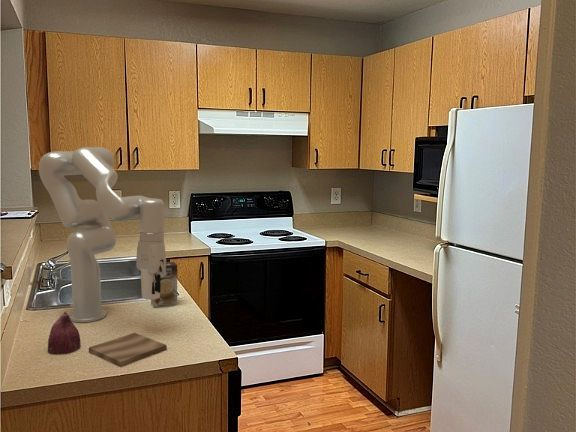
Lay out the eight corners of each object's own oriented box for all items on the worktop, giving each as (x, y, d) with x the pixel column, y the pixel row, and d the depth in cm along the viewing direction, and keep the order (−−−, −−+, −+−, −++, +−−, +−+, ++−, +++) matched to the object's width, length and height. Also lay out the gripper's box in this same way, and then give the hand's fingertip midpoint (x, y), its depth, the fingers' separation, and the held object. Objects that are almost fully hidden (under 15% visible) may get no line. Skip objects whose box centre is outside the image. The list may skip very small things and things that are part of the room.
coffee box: (153, 308, 195) (152, 266, 193) (150, 303, 201) (150, 263, 199) (177, 305, 199) (177, 264, 197) (174, 301, 204) (174, 261, 202)
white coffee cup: (160, 293, 174) (161, 264, 172) (161, 299, 167) (162, 269, 166) (140, 293, 172) (140, 264, 170) (140, 300, 165) (140, 270, 164)
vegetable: (82, 359, 155) (89, 320, 151) (48, 362, 150) (54, 321, 146) (77, 341, 162) (83, 304, 159) (44, 343, 157) (50, 304, 154)
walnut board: (88, 352, 153) (88, 347, 153) (134, 337, 166) (134, 332, 165) (120, 366, 143) (120, 361, 143) (166, 349, 156) (166, 344, 156)
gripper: (126, 234, 168) (126, 288, 171) (158, 242, 158) (158, 300, 161) (145, 231, 174) (145, 284, 177) (178, 239, 164) (177, 295, 167)
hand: (151, 291), depth 169 cm, fingers closed on white coffee cup, 3 cm apart
